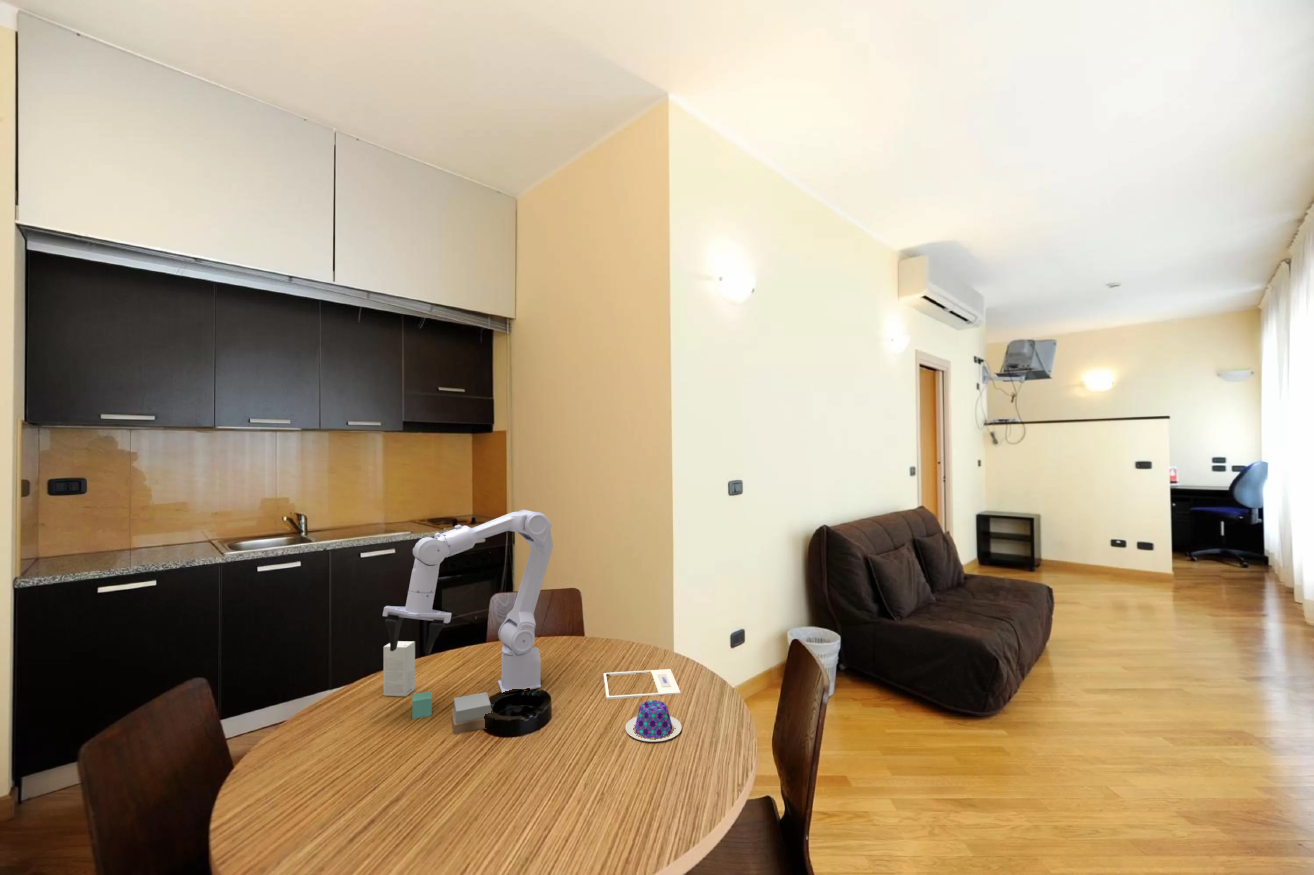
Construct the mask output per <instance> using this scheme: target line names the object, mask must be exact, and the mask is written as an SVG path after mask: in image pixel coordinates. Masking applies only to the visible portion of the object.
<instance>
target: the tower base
mask: <svg viewBox="0 0 1314 875" xmlns="http://www.w3.org/2000/svg"><path fill="white" fill-rule="evenodd" d="M451 722H452V729H453V730H452V731H453V735H461V734H464V733H471V732H475V731H479V730H484V729H486V728H485V719H484V718H481V719H476V720H471V721H466V722H461V723H456V718H455V712H454V708H451Z"/></svg>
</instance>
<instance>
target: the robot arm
mask: <svg viewBox="0 0 1314 875" xmlns="http://www.w3.org/2000/svg"><path fill="white" fill-rule="evenodd" d="M551 528H552V522H551V521H550V520H549V518H548V517H547V515H546V514H544V513H543V512H539V511H531V510H529V509H520V510H518V511H513V512H509V513H507V514H504V515H501V516H500V517H497V518H494V519H491V520H489V521H486V522H484V523H482V524H479V525H476V526H474V527H470V526H468V525H461V524H457V525H455V526H454V528H453V529H451V530H448V531H444V532H441V533H440V532H435V533H434V535H433V536H434V537H430V536H427V537H423V538H420V539H419V540H418V541H417V542H416V543H415V545H414V547H413V548H412V555H413V556H414V563H413V568H412V570H411V575H410V581H409V587H408V590H407V597H406V601H405V602H406V603H405V606H394V605H393V606H391V605H385V606H384V607H383V611H382V617H386V619H384V621H385V627H386V628H387V632H388V637H389V643H390V651H394V650H395V649H396V648H397V644H398V641H399V638H400V632H401V631H400V630H401V628H402V624H403V621H404V619H405V618H406V619H412V620H413V619H414V620H423V621H431V622H430V623H429V626H428V637H427V643H426V648H425V652H424V654H425V655H428V656H429V655H430V654H432V650H433V647H434V644H435V642H436V641H437V638H438V637H439V635H440V632H442V629H443V628H444V626H445V625H446V624H449V623H450V622H451V619H452V614H453V613H452V612H448V611H447V612H446V611H441V610H436V609H433V605H434V600H435V595H436V589H437V583H438V577H439V573H440V571H439V570H440V564H441V563H442V562H443V561H444V559H445V558H448V557H452V556H455V555H456V554H459V553H462V552H465V551H468V550H470V549H473V548H474V546H475V544H476V543H477V541H481V540H483V539H486V538H490V537H493V536H495V535H499V534H501V533H505V532H514V533H518V534H519V535H520V536H521V537H523V538H524V540H525V541H526V543H527V545H528V546H529V547H530V551H529V554H528V557H527V561H526V564H525V568H524V571H523V574H522V578H521V580H520V584H519V588H518V590H517V595H516V598H515V600H514V605H513V607H512V609H511V610H510V611H509V612H508V613H507V614H506V617H505V620H504V621H503V623H502V624H500V627H499V628H498V632H497V634H498V639H499V641H500V642H501V643H502V648H501V679H499V680H497V683H498V686H499V689H500V692H501V694H502V693H503V692H505V691H509V690H512V689H526V688H530V690H534V689H539V688H541V687H542V685H541V673H542V672H541V668H542V666H541V665H542V664H541V654H540V653H541V652H540V649H539V647H537V646H536V647H533V646H534V644H535V641H536V635H535V629H536V625H537V623H536V620H535V614H534V613H535V609H536V607H537V604H538V599H539V596H540V592H541V590H542V586H543V582H544V579H545V576H546V572H547V568H548V566H549V561H550V558H551V556H552V551H553V550H554V548H553V547H554V545H553V544H554V543H553V536H552V531H551Z"/></svg>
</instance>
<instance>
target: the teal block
mask: <svg viewBox="0 0 1314 875" xmlns="http://www.w3.org/2000/svg"><path fill="white" fill-rule="evenodd" d="M432 696H433V693H432V691H431V690H430V691H423V692H417V693H413V694H412V700H411V701H412V707H411V709H412V714H411V715H412V716H411V718H412V719H411V720H415V719H421V718H426V717H431V716H433V713H432V712H433V697H432Z"/></svg>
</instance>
